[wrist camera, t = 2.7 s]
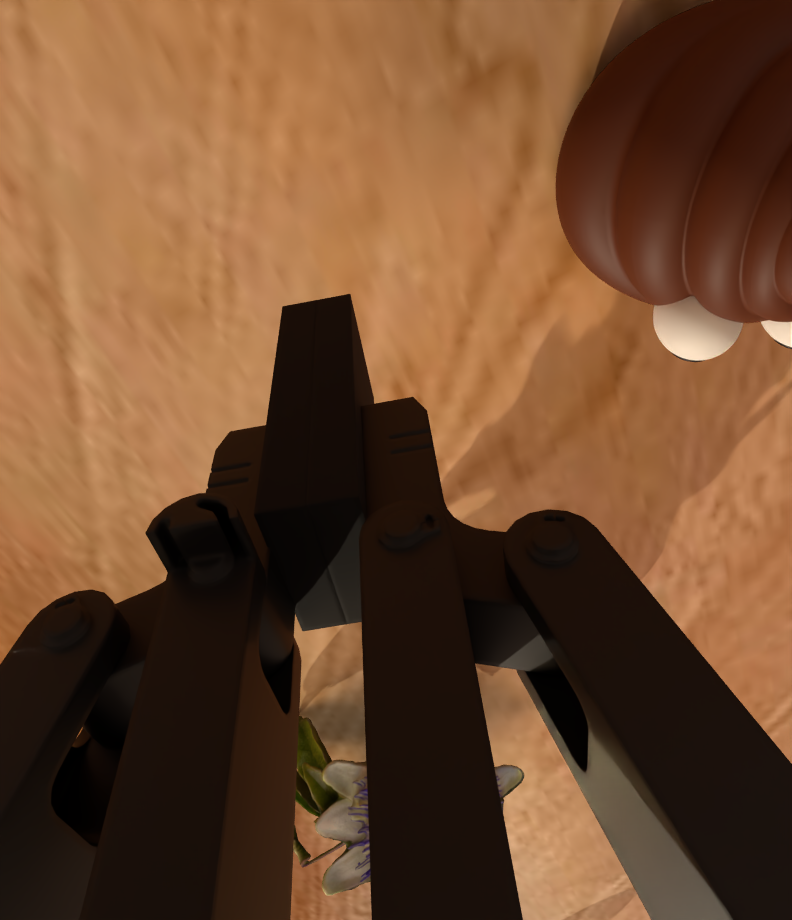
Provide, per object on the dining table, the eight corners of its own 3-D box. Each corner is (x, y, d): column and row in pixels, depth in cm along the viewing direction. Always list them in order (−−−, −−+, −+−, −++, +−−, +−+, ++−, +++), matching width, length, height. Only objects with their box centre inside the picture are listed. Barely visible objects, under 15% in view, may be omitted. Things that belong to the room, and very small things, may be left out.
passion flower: (417, 621, 42) (570, 766, 35) (373, 739, 47) (500, 887, 40) (266, 686, 34) (424, 889, 27) (231, 819, 39) (359, 1021, 32)
